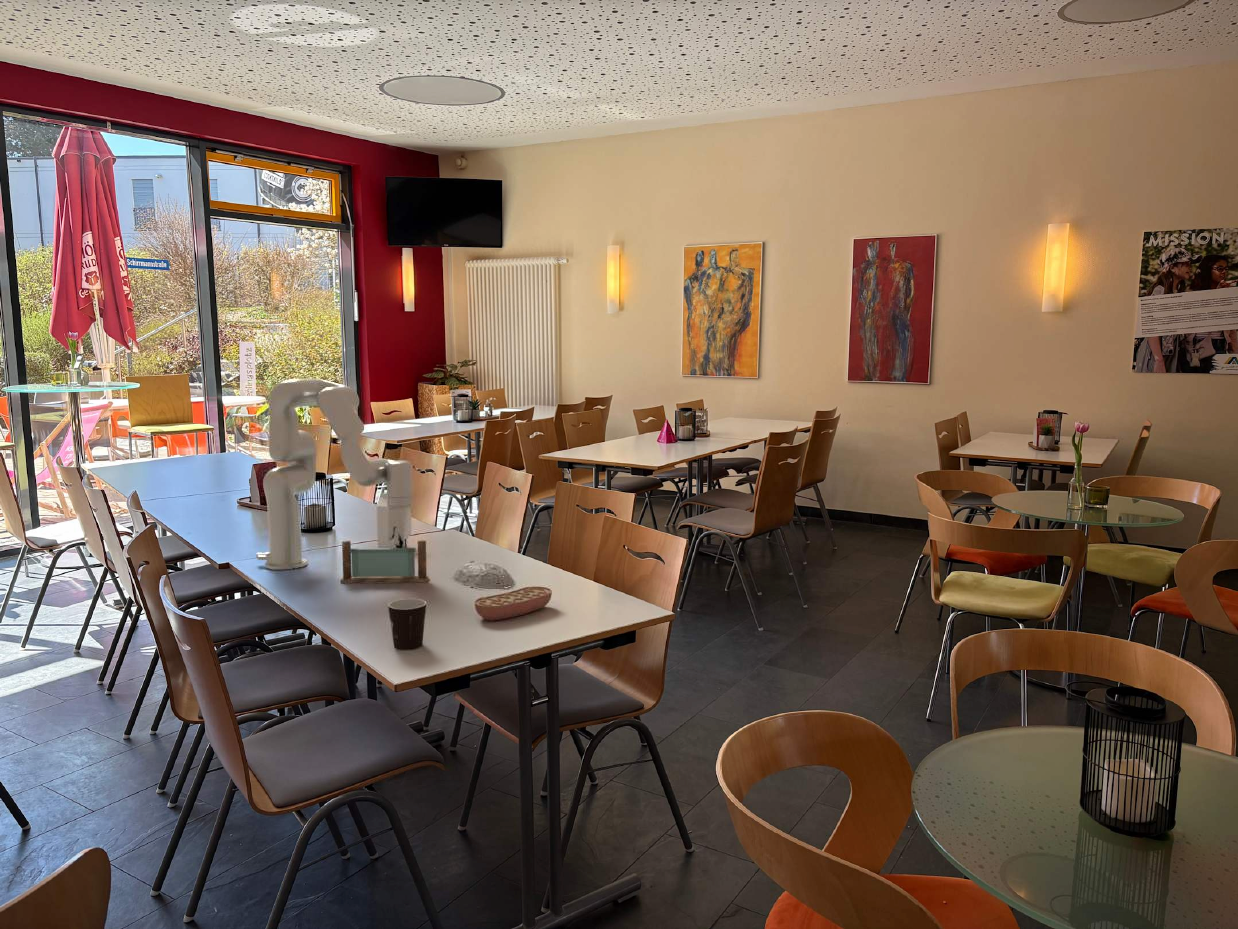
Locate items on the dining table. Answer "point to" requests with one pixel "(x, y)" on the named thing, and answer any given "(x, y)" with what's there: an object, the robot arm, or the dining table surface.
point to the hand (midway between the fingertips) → (401, 561)
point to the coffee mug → (407, 623)
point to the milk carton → (383, 523)
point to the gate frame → (349, 579)
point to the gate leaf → (383, 562)
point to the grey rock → (483, 576)
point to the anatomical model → (513, 603)
